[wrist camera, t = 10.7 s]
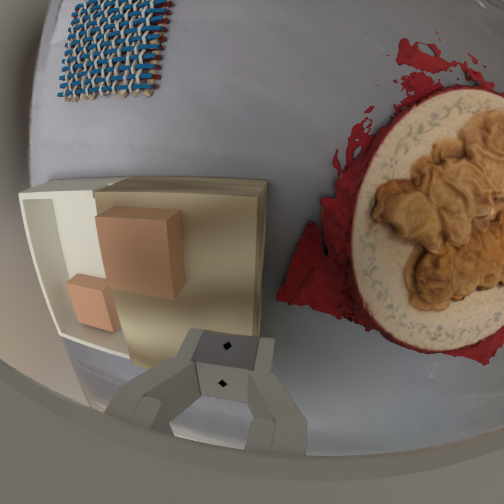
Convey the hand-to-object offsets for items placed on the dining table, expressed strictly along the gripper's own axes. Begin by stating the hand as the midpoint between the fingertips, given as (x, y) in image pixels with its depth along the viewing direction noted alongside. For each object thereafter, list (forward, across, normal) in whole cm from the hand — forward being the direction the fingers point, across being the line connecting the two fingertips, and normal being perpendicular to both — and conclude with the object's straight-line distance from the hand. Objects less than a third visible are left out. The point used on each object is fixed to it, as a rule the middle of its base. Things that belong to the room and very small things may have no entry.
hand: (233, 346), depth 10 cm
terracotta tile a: (+10, +17, +9) cm, 22 cm away
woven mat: (+14, +13, -15) cm, 24 cm away
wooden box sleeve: (+13, +6, +5) cm, 15 cm away
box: (+13, +16, +5) cm, 21 cm away
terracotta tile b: (+8, +7, 0) cm, 11 cm away
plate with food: (+13, -17, -2) cm, 22 cm away
